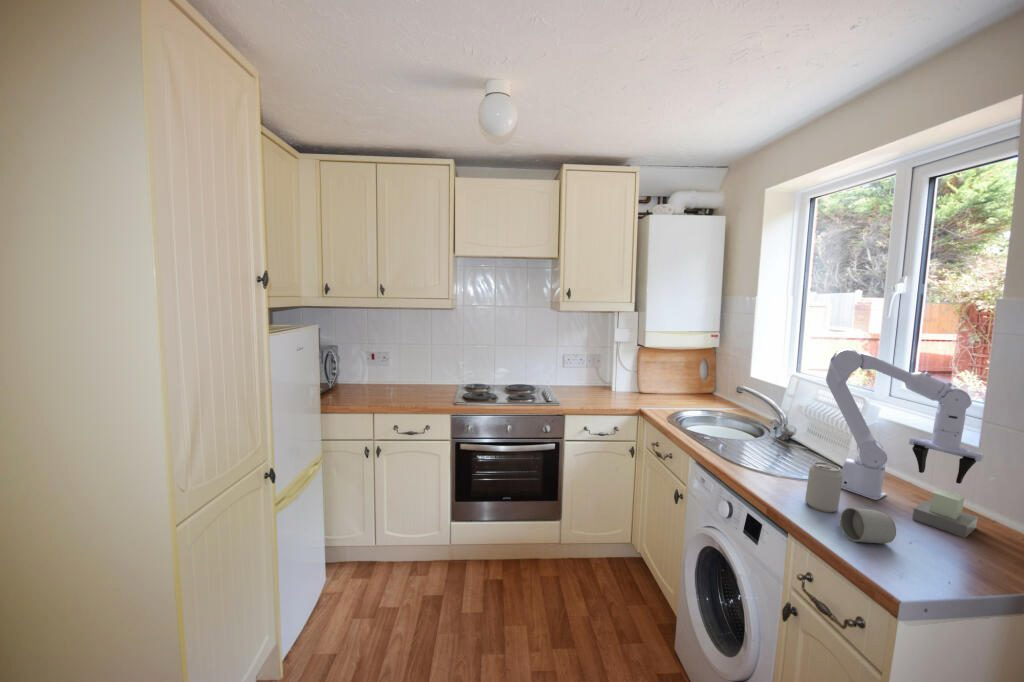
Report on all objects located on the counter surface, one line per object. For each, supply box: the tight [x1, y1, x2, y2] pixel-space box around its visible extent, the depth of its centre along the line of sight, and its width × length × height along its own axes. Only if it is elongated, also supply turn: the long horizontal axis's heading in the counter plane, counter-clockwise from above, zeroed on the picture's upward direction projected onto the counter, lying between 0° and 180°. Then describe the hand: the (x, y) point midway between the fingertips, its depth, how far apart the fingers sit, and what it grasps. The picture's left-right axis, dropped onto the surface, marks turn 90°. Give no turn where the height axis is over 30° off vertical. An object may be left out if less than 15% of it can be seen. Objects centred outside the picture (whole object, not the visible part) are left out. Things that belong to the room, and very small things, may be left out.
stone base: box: [912, 500, 979, 539], centre depth 114 cm, size 10×10×3 cm
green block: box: [929, 488, 965, 519], centre depth 113 cm, size 5×5×5 cm
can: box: [805, 461, 843, 513], centre depth 119 cm, size 8×8×12 cm
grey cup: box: [839, 506, 897, 544], centre depth 105 cm, size 11×8×8 cm
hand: (939, 477), depth 121 cm, fingers open, 7 cm apart
